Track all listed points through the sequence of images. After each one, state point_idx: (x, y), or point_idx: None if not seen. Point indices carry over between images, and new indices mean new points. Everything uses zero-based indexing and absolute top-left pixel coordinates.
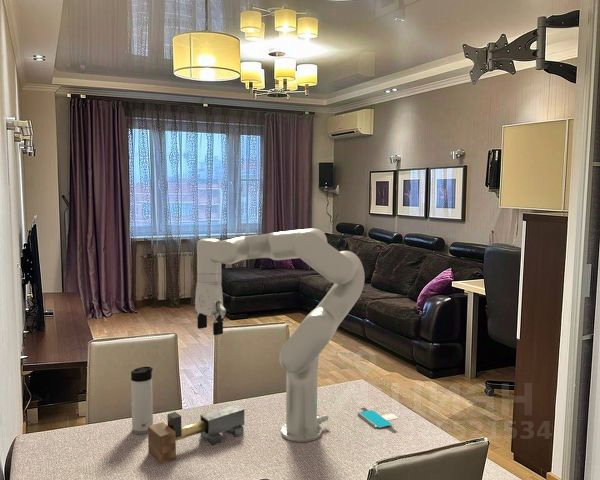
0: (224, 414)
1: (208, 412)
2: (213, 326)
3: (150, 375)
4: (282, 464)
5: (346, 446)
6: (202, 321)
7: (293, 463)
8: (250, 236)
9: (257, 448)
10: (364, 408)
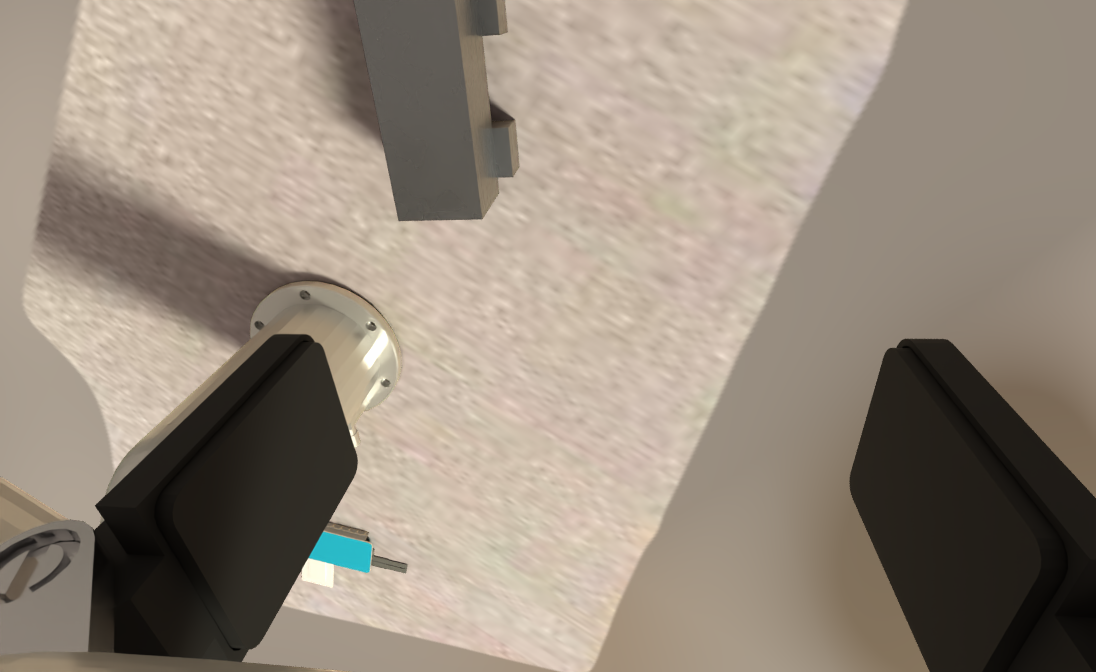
0: (384, 95)
1: (457, 25)
2: (191, 434)
3: None
4: (130, 156)
5: (191, 389)
6: (928, 518)
7: (127, 193)
8: None
9: (280, 149)
10: (400, 569)
